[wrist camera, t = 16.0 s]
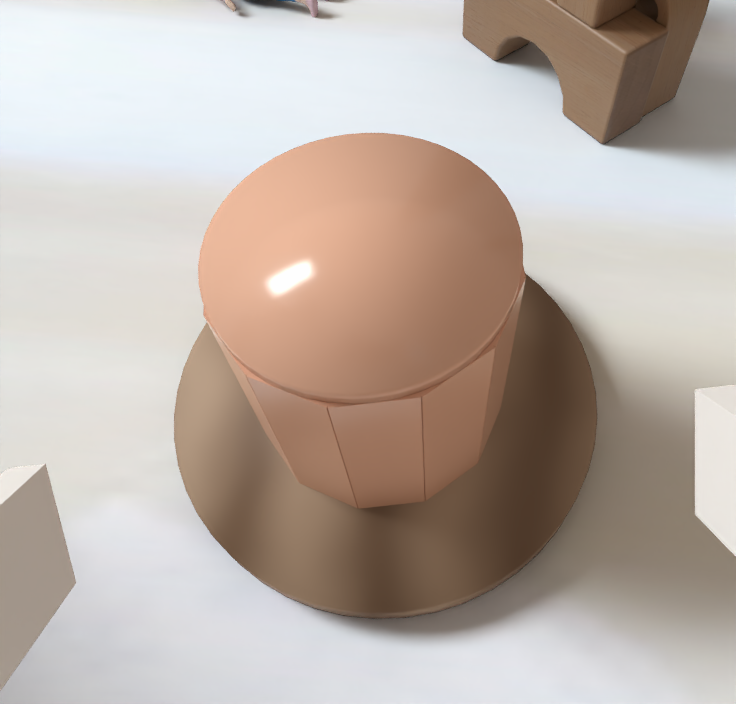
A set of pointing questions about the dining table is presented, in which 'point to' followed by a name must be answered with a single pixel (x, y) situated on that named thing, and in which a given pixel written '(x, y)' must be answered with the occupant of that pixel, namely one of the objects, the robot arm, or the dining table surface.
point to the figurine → (311, 3)
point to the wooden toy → (596, 51)
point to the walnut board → (402, 521)
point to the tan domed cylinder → (368, 310)
